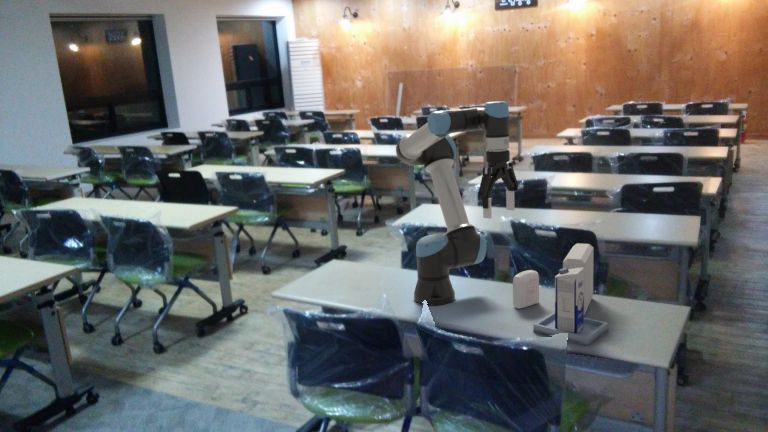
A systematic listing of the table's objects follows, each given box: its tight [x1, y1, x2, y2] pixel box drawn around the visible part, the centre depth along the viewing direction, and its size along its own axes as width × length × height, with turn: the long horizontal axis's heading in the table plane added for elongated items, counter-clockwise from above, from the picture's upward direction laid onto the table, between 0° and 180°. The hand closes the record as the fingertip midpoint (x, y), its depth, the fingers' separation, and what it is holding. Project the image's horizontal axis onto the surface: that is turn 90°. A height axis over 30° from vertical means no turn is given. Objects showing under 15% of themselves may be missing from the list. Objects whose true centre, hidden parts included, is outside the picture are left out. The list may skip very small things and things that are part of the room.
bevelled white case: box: [562, 243, 595, 316], centre depth 212 cm, size 21×8×20 cm, turn 154°
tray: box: [532, 310, 609, 347], centre depth 194 cm, size 18×14×2 cm
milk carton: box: [554, 267, 585, 334], centre depth 191 cm, size 7×7×20 cm
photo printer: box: [512, 269, 540, 309], centre depth 217 cm, size 10×4×12 cm, turn 123°
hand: (499, 214), depth 206 cm, fingers open, 13 cm apart
